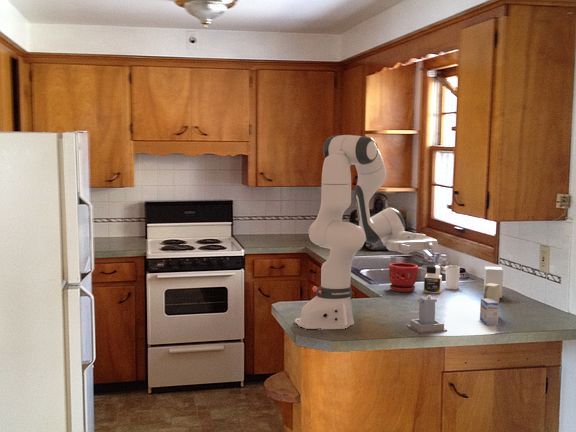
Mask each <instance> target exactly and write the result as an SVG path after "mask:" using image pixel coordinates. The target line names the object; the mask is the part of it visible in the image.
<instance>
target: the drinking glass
mask: <svg viewBox="0 0 576 432" xmlns="http://www.w3.org/2000/svg"><path fill="white" fill-rule="evenodd" d="M460 268H461V266H460V265H459V266H458V265H445V289H448V290H458V289H459V285H460V284H459V282H460V271H461V269H460Z"/></svg>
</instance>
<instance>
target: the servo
mask: <svg viewBox="0 0 576 432" xmlns="http://www.w3.org/2000/svg"><path fill="white" fill-rule="evenodd" d="M437 301H438V299H437V298H436V297H435V298H434V297H432V295H430V294H427V296H420V297H419V298H418V299H417V302H418V303H419V305H418V306H419V309H418V311H419V312H418V319H419V323H420V324H422V325H427V324H435V320H436V303H437Z"/></svg>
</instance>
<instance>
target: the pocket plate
mask: <svg viewBox="0 0 576 432" xmlns="http://www.w3.org/2000/svg"><path fill="white" fill-rule="evenodd" d="M406 326H407V327H408V328H409V329H411V330H413V331H415V332H417V333H418V334H427V333H438V332H439V333H440V332H441V333H442V332H447V331H448V330H447V329H446V328H445V324H444V323H443V322H441V321H439V320H437V319H435V324H427V325H422V324H420V323H419V318H415V319H412V318H411V319H410V322H409V324H407V325H406Z"/></svg>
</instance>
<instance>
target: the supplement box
mask: <svg viewBox="0 0 576 432" xmlns="http://www.w3.org/2000/svg"><path fill="white" fill-rule="evenodd" d="M483 270H484V271H483V272H484V273H483V274H484V275H483V286H484V285H486V284H488V283H494V284H499V285H500V288H499V299H500V298H503V281H504V280H503V278H504V277H503V275H504V274H503V273H504V269H503V267H501V266H484V269H483Z"/></svg>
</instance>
